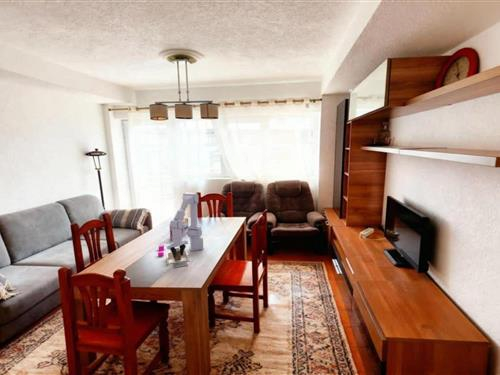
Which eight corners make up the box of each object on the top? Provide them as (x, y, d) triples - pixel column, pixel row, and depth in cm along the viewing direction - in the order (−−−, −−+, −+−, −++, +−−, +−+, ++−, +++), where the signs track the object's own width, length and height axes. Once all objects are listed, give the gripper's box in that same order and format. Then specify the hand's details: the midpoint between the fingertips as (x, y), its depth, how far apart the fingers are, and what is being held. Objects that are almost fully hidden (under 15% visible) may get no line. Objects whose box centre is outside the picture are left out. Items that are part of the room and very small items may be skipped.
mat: (186, 262, 183) (186, 261, 183) (188, 266, 176) (188, 265, 176) (172, 264, 180) (172, 263, 180) (173, 268, 173) (173, 267, 173)
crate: (186, 255, 194) (186, 249, 193) (188, 260, 185) (188, 254, 184) (166, 258, 189) (165, 252, 188) (167, 264, 180) (166, 258, 179)
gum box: (177, 240, 226) (176, 225, 224) (169, 239, 228) (168, 225, 226) (189, 231, 247) (188, 218, 245) (181, 231, 249) (180, 218, 247)
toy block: (155, 255, 207) (155, 246, 206) (164, 254, 209) (163, 245, 207) (155, 263, 193) (154, 253, 191) (164, 262, 194) (163, 252, 193)
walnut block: (179, 256, 189) (178, 247, 187) (181, 259, 185) (180, 250, 183) (173, 258, 187) (172, 249, 185) (175, 260, 184) (174, 251, 181)
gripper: (183, 233, 188) (184, 251, 190) (164, 238, 178) (165, 258, 180) (188, 235, 183) (190, 254, 185) (169, 241, 173) (170, 261, 175)
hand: (178, 256), depth 182 cm, fingers open, 5 cm apart
